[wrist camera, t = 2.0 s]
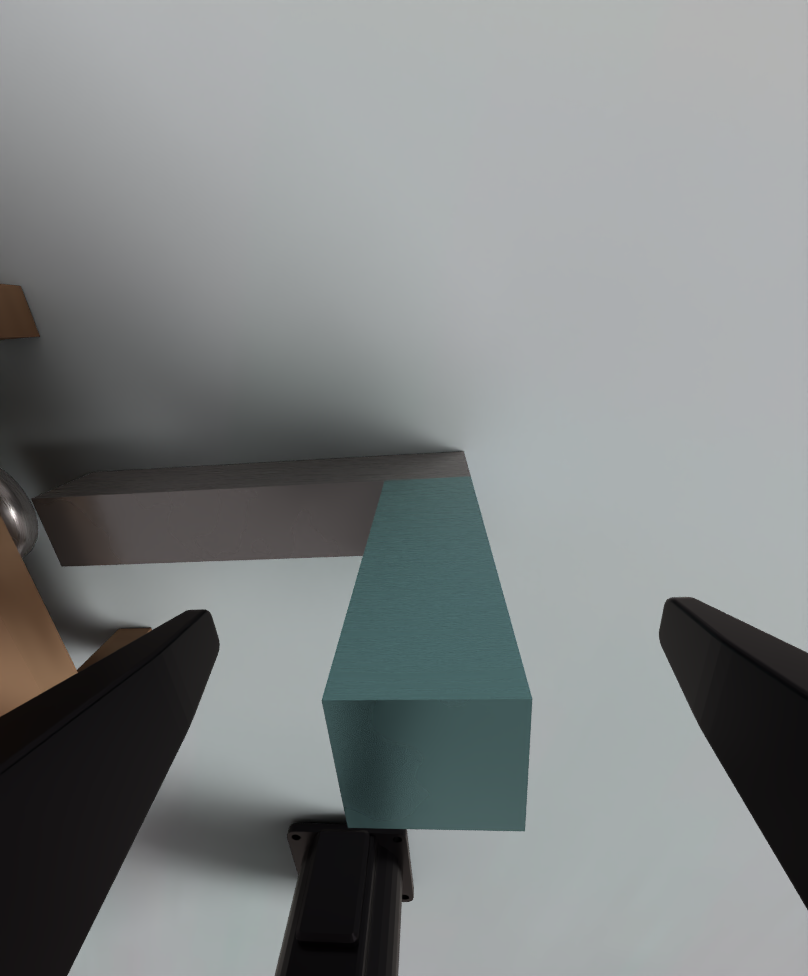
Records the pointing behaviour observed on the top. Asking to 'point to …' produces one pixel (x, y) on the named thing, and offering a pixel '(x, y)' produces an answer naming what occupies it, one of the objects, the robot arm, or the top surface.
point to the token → (17, 514)
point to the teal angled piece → (356, 613)
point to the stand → (31, 585)
